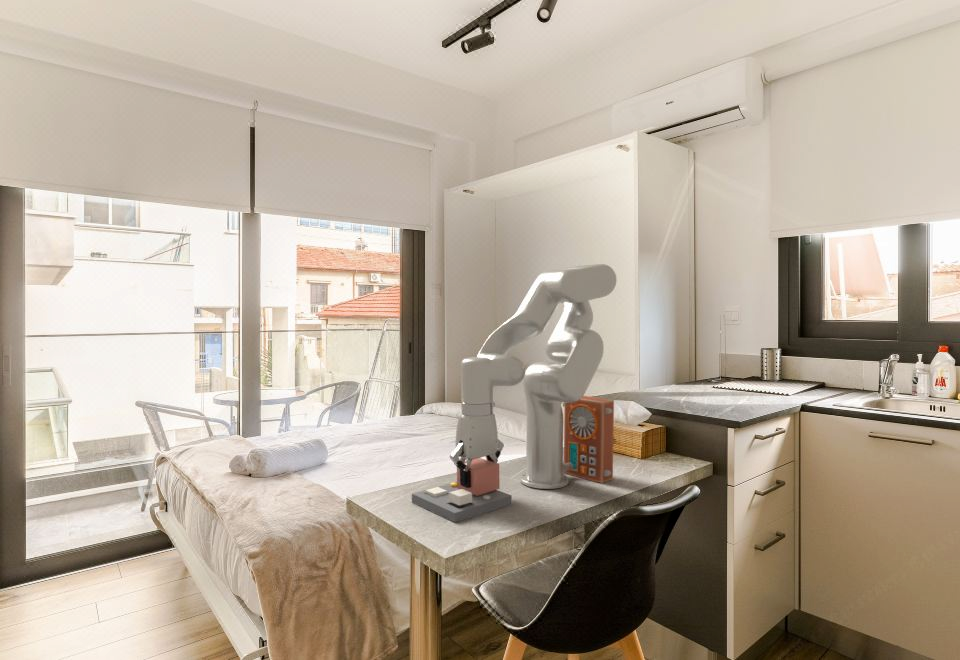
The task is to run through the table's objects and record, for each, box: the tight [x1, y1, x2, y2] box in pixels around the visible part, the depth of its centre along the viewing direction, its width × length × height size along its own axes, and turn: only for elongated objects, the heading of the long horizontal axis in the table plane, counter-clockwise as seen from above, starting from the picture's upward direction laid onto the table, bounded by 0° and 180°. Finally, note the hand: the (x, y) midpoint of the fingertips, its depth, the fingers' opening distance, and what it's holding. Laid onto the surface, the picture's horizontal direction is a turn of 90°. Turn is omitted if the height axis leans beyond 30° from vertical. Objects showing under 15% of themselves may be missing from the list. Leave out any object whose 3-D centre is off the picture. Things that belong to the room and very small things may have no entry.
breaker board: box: [411, 481, 513, 523], centre depth 127 cm, size 17×16×3 cm
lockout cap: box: [456, 457, 501, 496], centre depth 131 cm, size 7×7×6 cm
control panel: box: [561, 395, 615, 484], centre depth 148 cm, size 21×7×15 cm
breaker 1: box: [425, 486, 447, 498], centre depth 128 cm, size 4×4×2 cm
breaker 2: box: [449, 489, 472, 506], centre depth 121 cm, size 4×4×2 cm
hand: (478, 482), depth 131 cm, fingers closed on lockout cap, 7 cm apart
